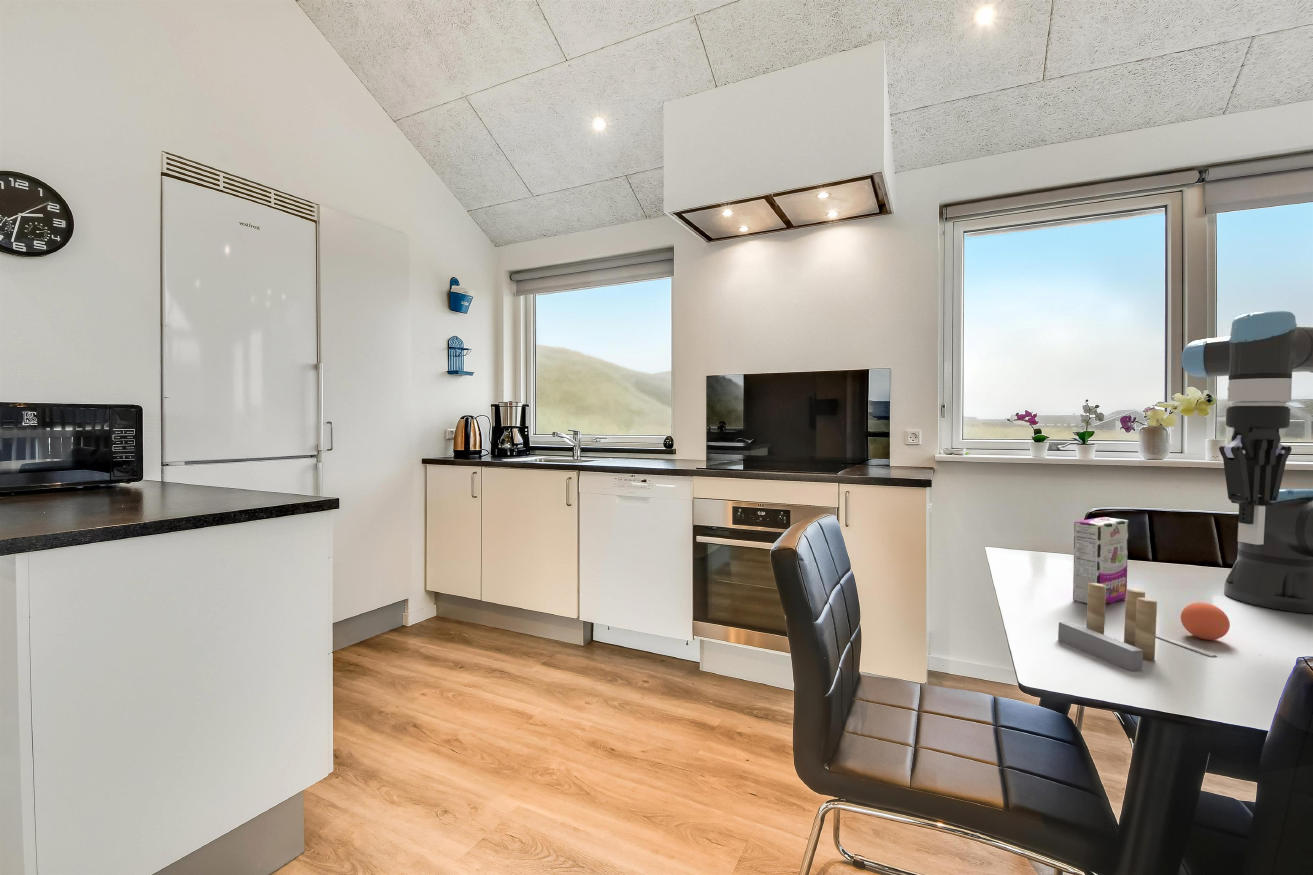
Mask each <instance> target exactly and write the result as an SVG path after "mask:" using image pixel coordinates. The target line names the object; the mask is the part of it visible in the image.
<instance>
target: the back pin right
mask: <svg viewBox="0 0 1313 875" xmlns="http://www.w3.org/2000/svg"><path fill="white" fill-rule="evenodd" d="M1105 600H1106V586H1105V585H1102V584H1098V583H1088V599H1087V604H1086V623H1085V625H1086V627H1085V628H1088V629H1090V630H1093V631H1095V632H1098V633H1101V634H1103V635H1105V620H1106V605H1105Z"/></svg>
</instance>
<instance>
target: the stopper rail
mask: <svg viewBox="0 0 1313 875" xmlns="http://www.w3.org/2000/svg"><path fill="white" fill-rule="evenodd" d="M1057 635H1058V636H1057V637H1058V639H1057V640H1058V641H1060V642H1063V643H1064V644H1065V643H1066V644H1067V645H1070V646H1072V647H1074V648H1077V649H1079V650H1081V651H1083V652H1086V653H1088V654H1090V655H1093V656H1095V657H1097V658H1100V659H1102V660H1105V661H1107V662H1109V663H1111V664H1114V665H1116V666H1119V667H1121V668H1123V669H1126V670H1128V671H1130V672H1135V671H1137V672H1138V671H1143V666H1144V665H1143V663H1144V662H1143V650H1142V649H1139V648H1137V647H1134V646H1132V645H1129V644H1126V643H1124V641H1121V640H1119V639H1116V638H1113V637H1111V636H1109V635H1105V634H1104V635H1103V634H1101V633H1098V632H1095V631H1093V630H1090V629H1088V628H1086V627H1085V626H1082V625H1081V624H1077V623H1074V622H1071V621H1069V620H1067V621H1058V633H1057Z"/></svg>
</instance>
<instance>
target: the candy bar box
mask: <svg viewBox="0 0 1313 875" xmlns="http://www.w3.org/2000/svg"><path fill="white" fill-rule="evenodd" d="M1073 522H1074V527H1073V528H1074V533H1073V540H1074V541H1073V577H1072V578H1073V579H1072V580H1073V583H1072V584H1073V585H1072V586H1073V588H1072V600H1073V601H1074V602H1077V603H1080V604H1084V605H1087V599H1088V583H1098V584H1102V585H1105V586H1106V600H1105V606H1107V605H1110V604H1114V603H1118V602H1121V601H1123V600H1126V589H1128V588H1127V587H1128V554H1129V553H1128V549H1129V547H1128V546H1129V545H1128V544H1129V520H1128V519H1122V518H1116V517H1115V518H1114V517H1109V516H1108V517H1107V516H1103V517H1095V518H1090V519H1089V518H1088V519H1084V520H1078V521H1077V520H1076V521H1073Z"/></svg>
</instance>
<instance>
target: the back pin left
mask: <svg viewBox="0 0 1313 875" xmlns="http://www.w3.org/2000/svg"><path fill="white" fill-rule="evenodd" d="M1157 611H1158V601H1157V600H1154V599H1151V598H1146V597H1145V598H1137V605H1136V628H1135V647H1137V648H1139V649H1142V650H1143V660H1144V661H1149V662H1150V661H1152V662H1153V661H1155V657H1156V656H1155V655H1156V634H1157V633H1156V632H1157V617H1158V616H1157V613H1158V612H1157Z"/></svg>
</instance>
